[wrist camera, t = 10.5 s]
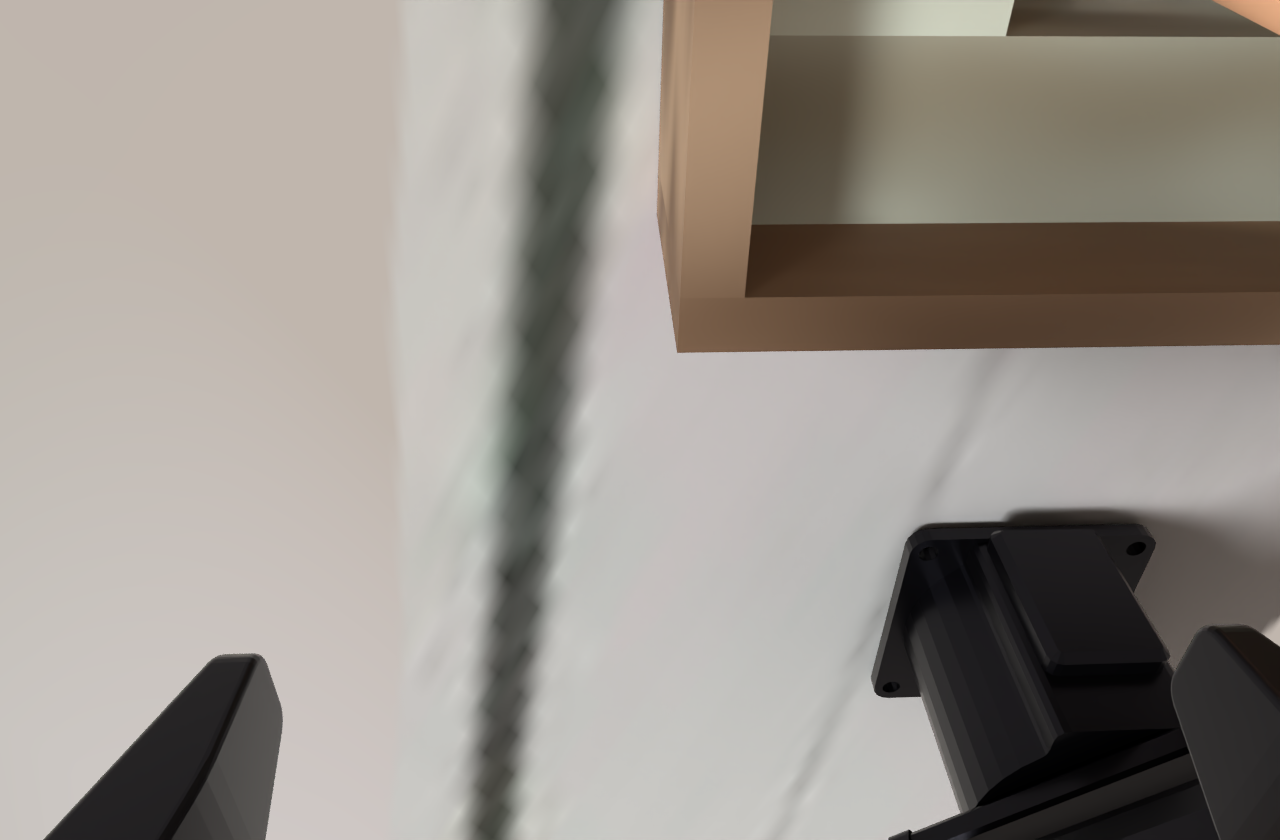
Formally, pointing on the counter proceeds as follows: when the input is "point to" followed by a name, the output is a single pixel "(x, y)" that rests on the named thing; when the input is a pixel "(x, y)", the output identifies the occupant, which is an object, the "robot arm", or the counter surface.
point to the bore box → (968, 174)
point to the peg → (1257, 11)
